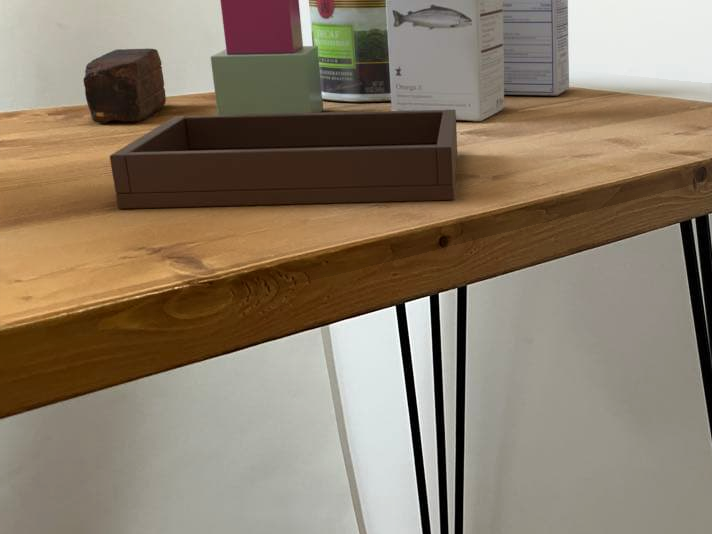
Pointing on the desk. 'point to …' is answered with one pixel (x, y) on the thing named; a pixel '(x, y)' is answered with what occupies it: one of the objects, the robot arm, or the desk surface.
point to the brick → (124, 85)
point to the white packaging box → (446, 56)
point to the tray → (290, 159)
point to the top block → (261, 26)
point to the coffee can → (352, 49)
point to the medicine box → (535, 47)
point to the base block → (267, 82)
